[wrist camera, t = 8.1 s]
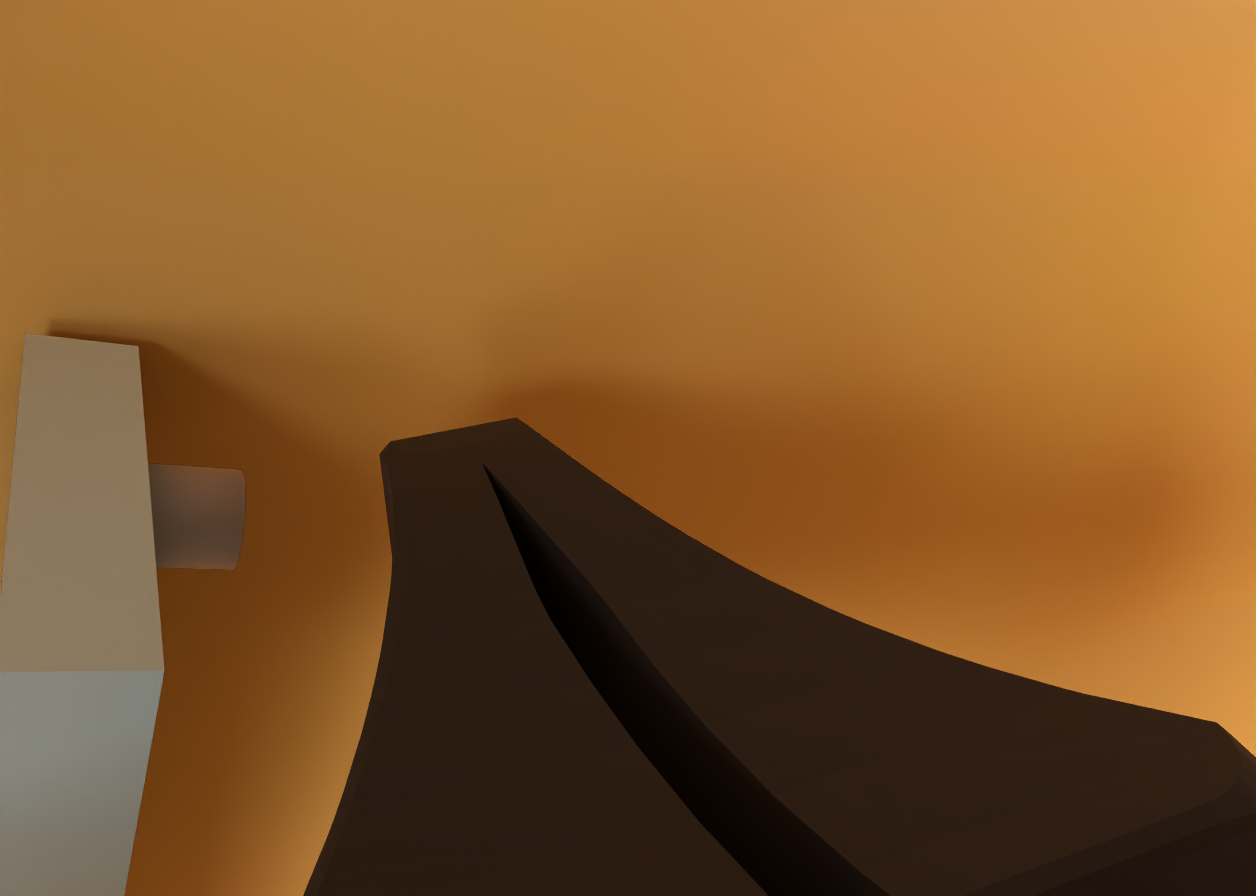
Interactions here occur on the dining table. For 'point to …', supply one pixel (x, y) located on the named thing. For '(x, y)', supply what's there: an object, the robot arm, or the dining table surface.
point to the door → (89, 611)
